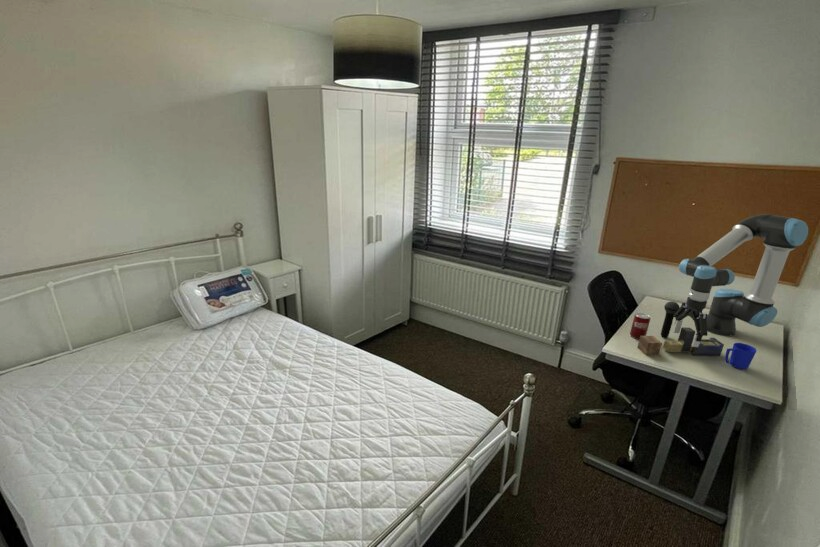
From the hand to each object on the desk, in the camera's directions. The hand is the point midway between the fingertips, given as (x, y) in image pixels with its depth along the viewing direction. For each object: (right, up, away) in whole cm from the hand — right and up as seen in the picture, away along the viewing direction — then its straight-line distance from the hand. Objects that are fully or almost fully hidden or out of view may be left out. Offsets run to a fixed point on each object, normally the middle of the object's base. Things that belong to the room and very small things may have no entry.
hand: (685, 339), depth 191 cm
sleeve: (+10, -7, +3) cm, 12 cm away
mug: (+17, -11, -8) cm, 22 cm away
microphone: (0, -2, +17) cm, 17 cm away
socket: (-17, -6, +2) cm, 18 cm away
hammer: (+4, -5, +2) cm, 7 cm away
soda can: (-14, -1, +16) cm, 21 cm away
